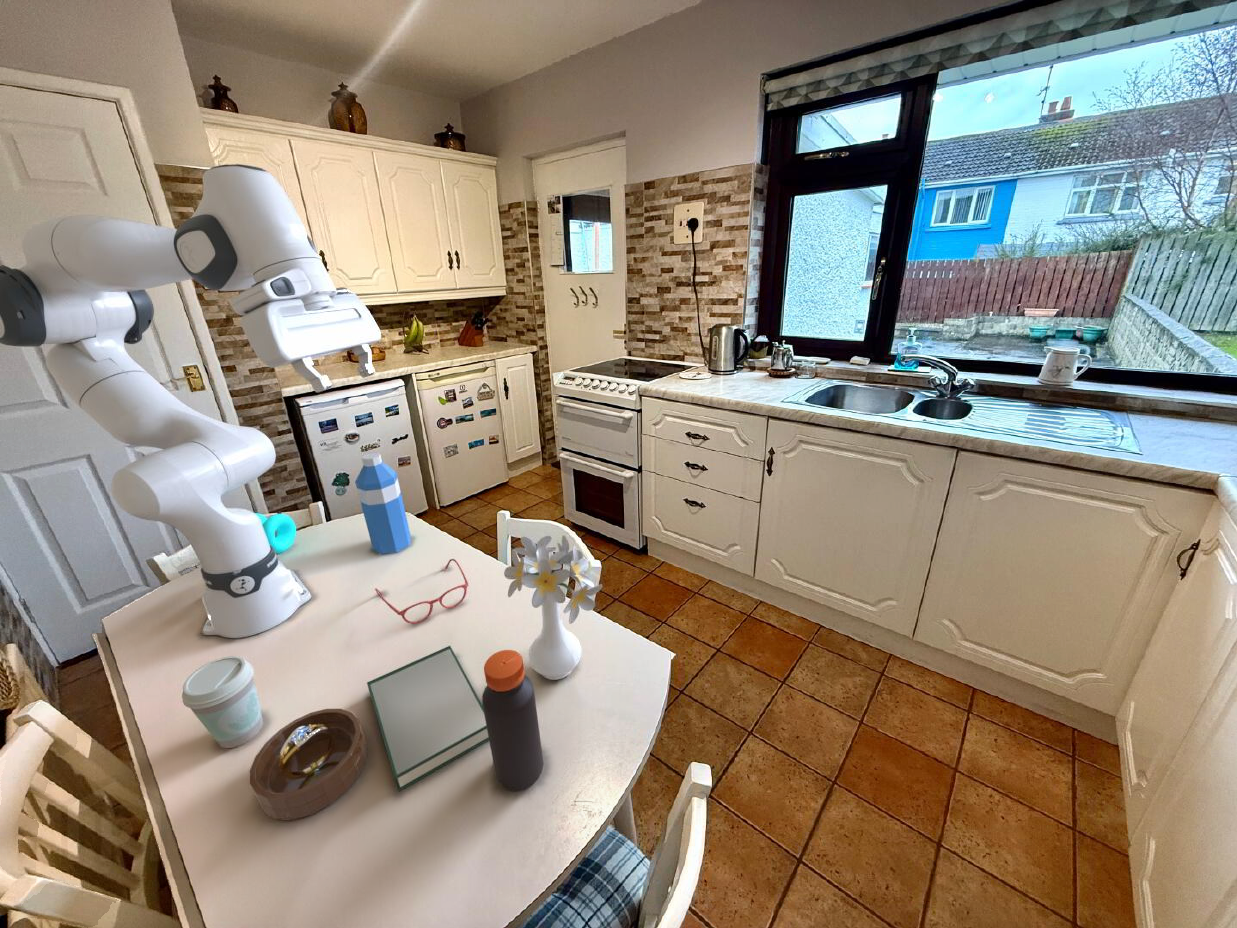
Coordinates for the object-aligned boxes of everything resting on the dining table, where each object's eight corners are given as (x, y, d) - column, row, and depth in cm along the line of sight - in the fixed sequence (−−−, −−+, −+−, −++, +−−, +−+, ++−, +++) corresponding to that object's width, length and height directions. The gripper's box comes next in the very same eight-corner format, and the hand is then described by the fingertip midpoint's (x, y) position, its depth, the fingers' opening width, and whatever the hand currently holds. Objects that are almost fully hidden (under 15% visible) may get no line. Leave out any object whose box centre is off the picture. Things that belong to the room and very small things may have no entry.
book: (370, 695, 82) (366, 682, 81) (452, 657, 90) (450, 645, 88) (398, 791, 67) (394, 777, 66) (494, 736, 74) (492, 723, 73)
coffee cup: (222, 767, 71) (191, 708, 66) (197, 740, 75) (167, 682, 71) (284, 723, 78) (260, 666, 73) (258, 700, 82) (234, 645, 77)
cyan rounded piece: (268, 538, 131) (257, 506, 127) (303, 540, 130) (292, 507, 126) (238, 560, 122) (224, 525, 118) (275, 561, 121) (262, 526, 117)
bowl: (260, 763, 71) (249, 740, 69) (359, 716, 78) (352, 693, 77) (262, 845, 61) (249, 820, 59) (376, 782, 68) (368, 758, 66)
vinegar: (517, 739, 74) (501, 637, 66) (553, 759, 71) (541, 655, 63) (485, 777, 69) (464, 671, 61) (522, 801, 65) (505, 693, 58)
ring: (292, 796, 66) (274, 756, 63) (284, 781, 68) (267, 741, 65) (345, 759, 71) (331, 720, 68) (337, 746, 73) (323, 707, 70)
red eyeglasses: (396, 636, 95) (390, 616, 93) (374, 596, 107) (369, 577, 105) (479, 598, 105) (475, 579, 103) (451, 566, 117) (447, 548, 115)
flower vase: (576, 718, 77) (566, 590, 67) (498, 667, 87) (479, 549, 77) (623, 666, 87) (620, 547, 77) (548, 625, 97) (536, 516, 87)
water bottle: (365, 553, 123) (340, 462, 113) (387, 533, 132) (365, 448, 122) (398, 555, 122) (376, 464, 112) (418, 536, 130) (399, 449, 120)
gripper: (336, 293, 79) (377, 374, 83) (216, 303, 60) (276, 406, 64) (366, 279, 77) (406, 363, 81) (251, 285, 58) (311, 393, 62)
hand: (348, 382), depth 72 cm, fingers open, 8 cm apart
